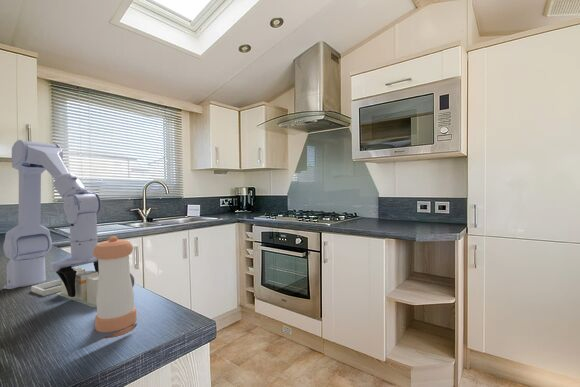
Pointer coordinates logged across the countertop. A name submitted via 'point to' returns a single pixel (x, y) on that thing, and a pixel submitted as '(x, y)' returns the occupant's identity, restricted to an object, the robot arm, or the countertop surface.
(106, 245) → the salt shaker
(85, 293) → the fuse block
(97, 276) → the block
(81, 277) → the block
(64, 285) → the left fuse
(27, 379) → the countertop surface
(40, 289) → the tray
